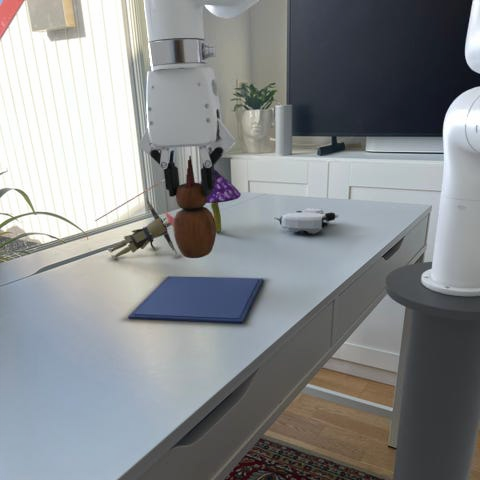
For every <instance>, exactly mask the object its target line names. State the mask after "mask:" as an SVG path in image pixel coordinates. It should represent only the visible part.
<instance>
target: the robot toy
mask: <svg viewBox="0 0 480 480" xmlns="http://www.w3.org/2000/svg"><path fill="white" fill-rule="evenodd" d="M338 218H339V214H337V213H335V212H331V211H330V212H326V213H325V212H324V209H322V208H305V209H304V210H303V211H301V210H296V211H295V212H287V213H284V214H282V215H281V216H280V217H279V218H278V217H277V216H275V217H274V220H277V221H279V225H280V226H281V227H282V228H283V229H286V230H287V231H289V232H290V233H293V234H294V233H298V232H299V231H306V233H308V234H312V235H313V234H314V235H315V234H318V233H319V232H320V231H321V230H322V229H324V228H326V227H328V225H330V223H331V222H332V221H335V219H338Z"/></svg>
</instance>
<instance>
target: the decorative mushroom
mask: <svg viewBox="0 0 480 480" xmlns="http://www.w3.org/2000/svg"><path fill="white" fill-rule="evenodd" d="M214 174H215V189H213V192H212V193H211V194H210V195H209V196H207V202H206V204H210V207H211V212H212V215H213V217H214V220H215V224H216V233H220V232H222V217H221V216H222V215H221V211H220V207H219V206H220V205H219V203H225V202H226V203H227V202H231V201H235V200H238V199H239V198H240V197H241V195H242V193H241V192H240V190H239V189H237V188H236V187H235V186H234V185H233V184H232V183H231V182H230V181H229V180H228V179H227V178H226V177H224V176H223V175H222V174H221V173H220V172H218V170H216V169H214ZM199 183H200V184H202V180H201V181H199Z"/></svg>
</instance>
